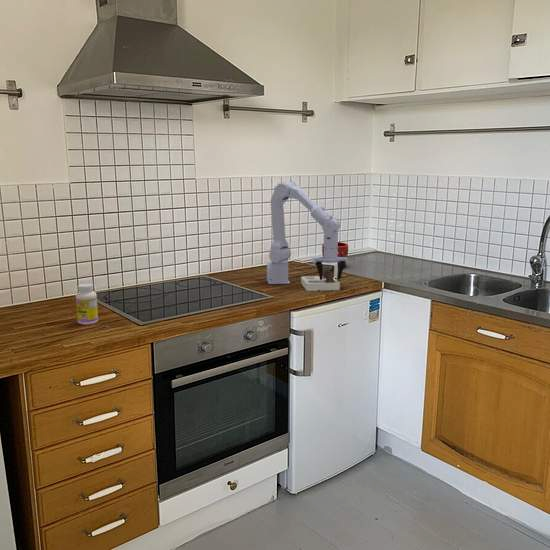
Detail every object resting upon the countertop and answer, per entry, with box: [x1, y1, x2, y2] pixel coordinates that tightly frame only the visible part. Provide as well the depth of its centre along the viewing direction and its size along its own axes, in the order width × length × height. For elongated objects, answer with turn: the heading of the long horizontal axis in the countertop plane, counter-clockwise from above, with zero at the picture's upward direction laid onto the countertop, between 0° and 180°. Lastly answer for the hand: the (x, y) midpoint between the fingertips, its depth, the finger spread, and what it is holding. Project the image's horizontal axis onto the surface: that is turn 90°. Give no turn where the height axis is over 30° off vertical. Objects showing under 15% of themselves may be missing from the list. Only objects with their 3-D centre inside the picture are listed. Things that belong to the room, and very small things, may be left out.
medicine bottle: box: [322, 254, 338, 279], centre depth 255 cm, size 7×7×12 cm
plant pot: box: [321, 241, 349, 267], centre depth 280 cm, size 13×13×12 cm
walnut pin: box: [326, 271, 334, 283], centre depth 236 cm, size 3×3×7 cm
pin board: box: [300, 266, 341, 292], centre depth 238 cm, size 14×14×8 cm
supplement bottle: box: [75, 283, 99, 326], centre depth 185 cm, size 7×7×13 cm
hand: (329, 279), depth 235 cm, fingers open, 7 cm apart
